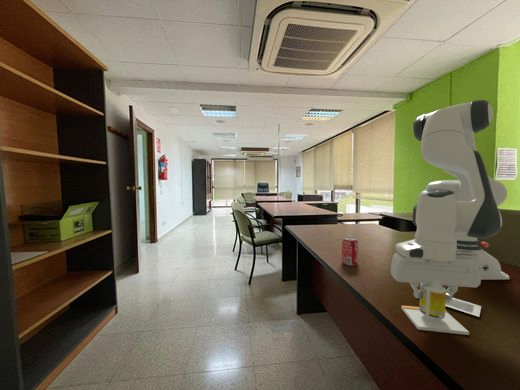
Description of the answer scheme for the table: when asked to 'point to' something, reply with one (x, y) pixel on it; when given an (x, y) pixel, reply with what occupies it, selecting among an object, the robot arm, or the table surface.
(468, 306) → the touchpad
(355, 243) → the soda can
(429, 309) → the supplement bottle
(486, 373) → the table surface
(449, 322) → the notepad
